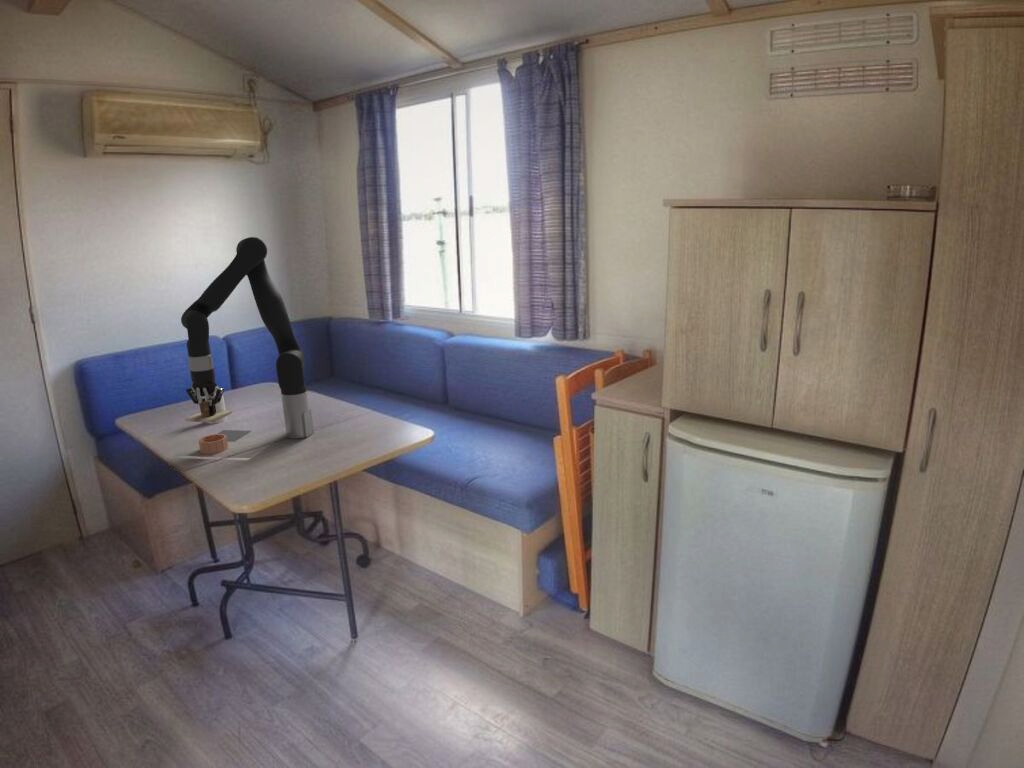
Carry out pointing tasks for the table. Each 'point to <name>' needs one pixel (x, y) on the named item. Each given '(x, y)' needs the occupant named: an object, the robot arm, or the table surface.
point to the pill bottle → (219, 407)
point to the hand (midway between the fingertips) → (208, 414)
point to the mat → (234, 434)
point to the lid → (207, 414)
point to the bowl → (213, 443)
